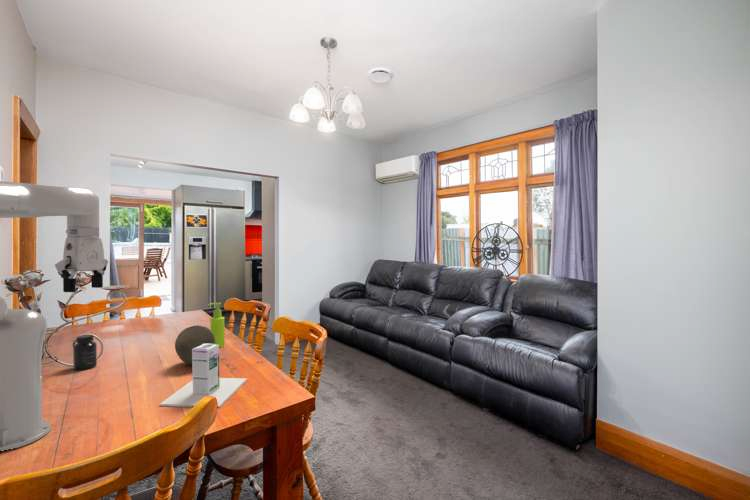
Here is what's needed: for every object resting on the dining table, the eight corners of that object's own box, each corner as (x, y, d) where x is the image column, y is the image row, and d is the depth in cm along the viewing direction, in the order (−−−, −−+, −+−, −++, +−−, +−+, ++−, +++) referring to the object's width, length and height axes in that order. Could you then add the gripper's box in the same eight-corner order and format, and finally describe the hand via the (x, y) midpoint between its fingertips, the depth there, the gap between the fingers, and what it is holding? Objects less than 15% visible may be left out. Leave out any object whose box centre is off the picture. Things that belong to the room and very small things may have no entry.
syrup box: (208, 395, 108) (208, 349, 108) (191, 393, 109) (191, 347, 109) (219, 387, 114) (219, 343, 114) (203, 386, 115) (203, 342, 115)
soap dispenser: (208, 345, 161) (208, 302, 160) (224, 343, 164) (224, 301, 163) (207, 349, 155) (207, 304, 155) (224, 347, 158) (224, 303, 158)
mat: (220, 407, 102) (220, 405, 102) (159, 405, 102) (159, 403, 102) (247, 380, 122) (247, 378, 122) (196, 378, 122) (196, 377, 122)
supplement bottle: (69, 368, 130) (69, 336, 130) (91, 363, 136) (91, 332, 136) (78, 372, 127) (78, 339, 127) (100, 366, 133) (100, 335, 133)
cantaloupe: (171, 363, 137) (171, 325, 137) (209, 355, 146) (209, 320, 146) (178, 374, 127) (178, 333, 126) (219, 365, 136) (220, 327, 135)
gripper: (69, 233, 97) (70, 294, 97) (117, 234, 114) (117, 286, 115) (43, 232, 97) (44, 293, 98) (95, 233, 114) (95, 285, 115)
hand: (84, 289), depth 106 cm, fingers open, 9 cm apart
